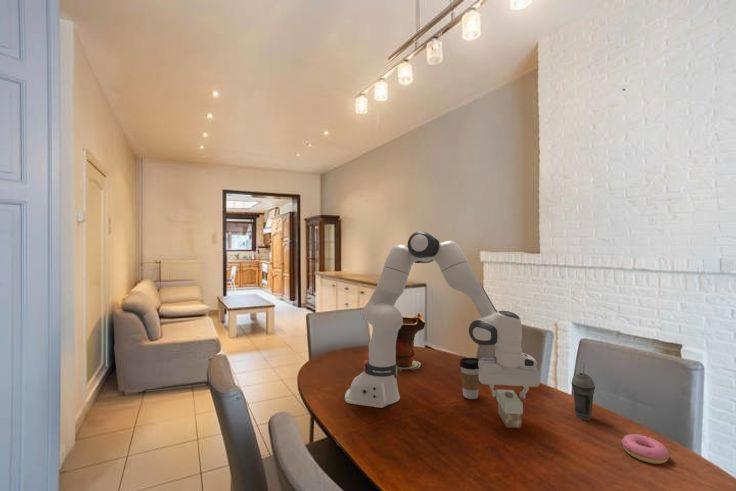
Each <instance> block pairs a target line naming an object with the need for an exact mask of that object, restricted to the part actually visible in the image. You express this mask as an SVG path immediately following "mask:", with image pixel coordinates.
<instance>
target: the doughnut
mask: <svg viewBox="0 0 736 491" xmlns="http://www.w3.org/2000/svg"><path fill="white" fill-rule="evenodd" d="M621 444H622V448H623V450H624V451H625V452H626V453H627V454H628V455H630V456H631V457H632V458H634V459H636V460H639V461H641V462H645V463H648V464H655V465H659V464H660V465H661V464H665V463H667V462H668V460H669V457H670V453H669V451H668V449H667V448H666V446H665V445H664V444H663V443H661V442H660V441H658V440H656V439H654V438H652V437H649V436H646V435H642V434H638V433H634V434H633V433H629V434H626V435H624V436H622V439H621Z"/></svg>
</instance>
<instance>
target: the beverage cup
mask: <svg viewBox="0 0 736 491" xmlns="http://www.w3.org/2000/svg"><path fill="white" fill-rule="evenodd" d="M570 383H571V388H572V393H573V402H574V403H573V404H574V410H575V416H576V418H578V419H580V420H582V421H591V420H590V419H592V413H593V412H592V411H593V402H594V401H593V400H594V393H595V390H596V386H595V382H594V380H593V378H592V377H591V376H590V375H588V374H586V373H585V362H582V372H581V373H579V372H578V373H576V374H575V375H574V376H572V379H571V382H570Z"/></svg>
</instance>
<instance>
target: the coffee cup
mask: <svg viewBox="0 0 736 491" xmlns="http://www.w3.org/2000/svg"><path fill="white" fill-rule="evenodd" d="M479 359H480V358H477V357H463V358H461V359H460V360H459V367H460V377H461V378H460V379H461V387H462V395H463V397H464V398H466V399H469V400H475V399H478V397H479V386H480V381H479V378H478V376H479V367H478V361H479Z"/></svg>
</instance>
